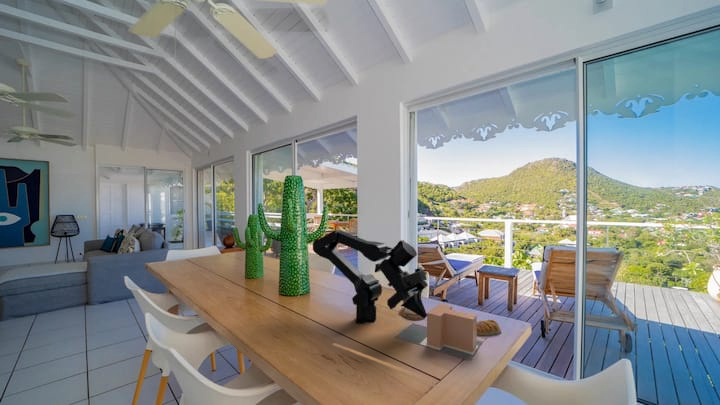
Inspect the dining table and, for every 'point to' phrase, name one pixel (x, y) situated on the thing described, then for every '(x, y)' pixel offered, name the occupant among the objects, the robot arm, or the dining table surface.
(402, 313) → the cookie
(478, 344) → the board
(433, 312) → the tee
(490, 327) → the pastry
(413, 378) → the dining table surface
